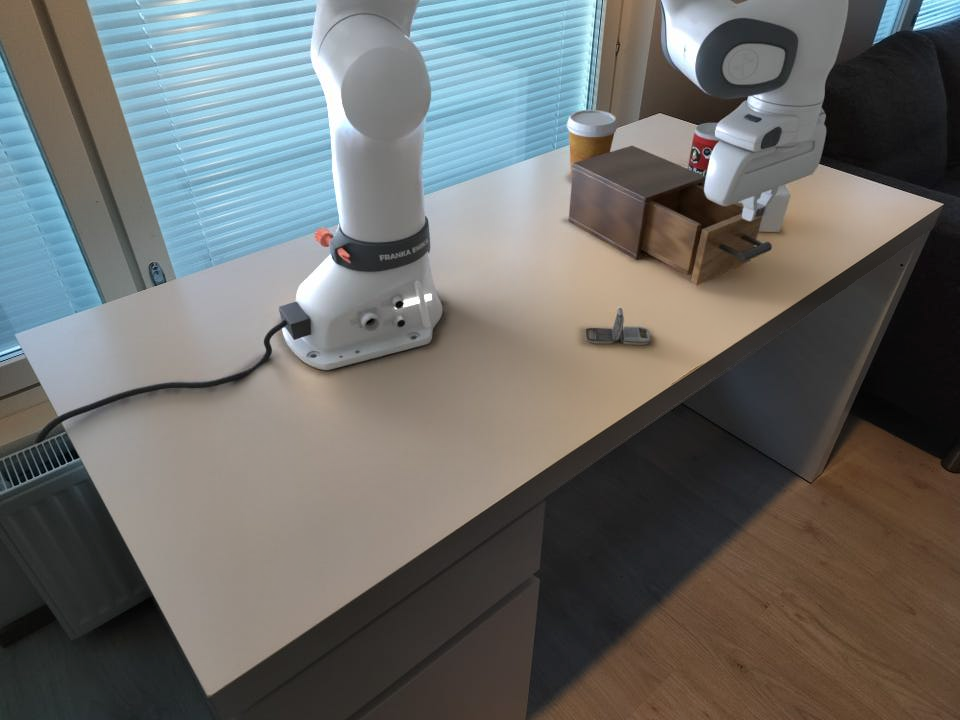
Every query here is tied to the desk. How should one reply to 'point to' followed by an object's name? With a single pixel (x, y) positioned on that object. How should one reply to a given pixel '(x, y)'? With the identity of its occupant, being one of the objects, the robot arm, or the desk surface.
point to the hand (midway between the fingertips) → (752, 217)
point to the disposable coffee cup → (590, 134)
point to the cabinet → (623, 194)
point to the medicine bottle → (775, 211)
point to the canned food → (702, 147)
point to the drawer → (700, 234)
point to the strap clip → (619, 333)
